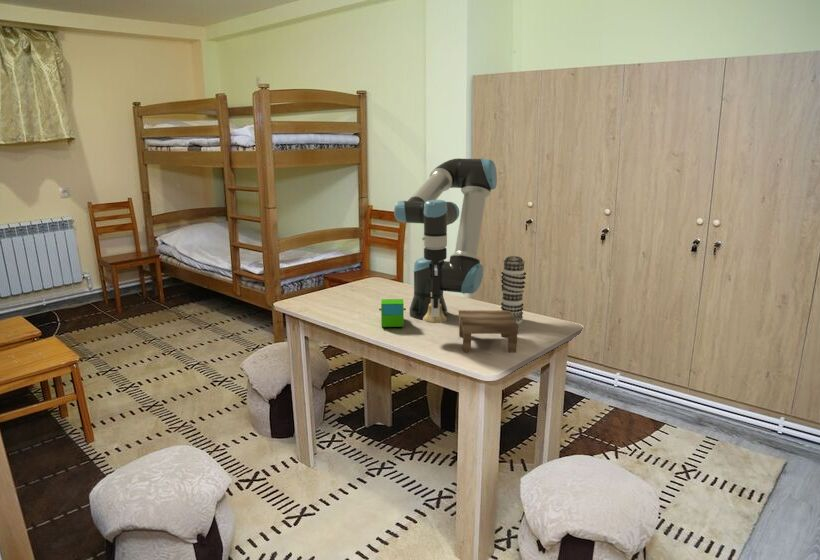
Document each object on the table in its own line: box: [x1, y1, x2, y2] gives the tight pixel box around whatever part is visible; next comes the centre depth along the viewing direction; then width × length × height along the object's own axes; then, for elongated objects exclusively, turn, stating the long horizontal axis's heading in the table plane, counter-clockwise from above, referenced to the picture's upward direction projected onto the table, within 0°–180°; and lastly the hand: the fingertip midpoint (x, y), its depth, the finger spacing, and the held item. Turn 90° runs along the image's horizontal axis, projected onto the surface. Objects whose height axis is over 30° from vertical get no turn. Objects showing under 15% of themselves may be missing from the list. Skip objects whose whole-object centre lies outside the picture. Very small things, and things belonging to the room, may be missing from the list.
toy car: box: [378, 298, 407, 329], centre depth 214 cm, size 10×13×10 cm
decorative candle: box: [500, 255, 527, 325], centre depth 216 cm, size 9×9×25 cm
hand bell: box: [422, 303, 448, 324], centre depth 192 cm, size 8×8×16 cm
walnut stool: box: [458, 309, 519, 353], centre depth 194 cm, size 18×18×9 cm
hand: (435, 313), depth 194 cm, fingers closed on hand bell, 6 cm apart
